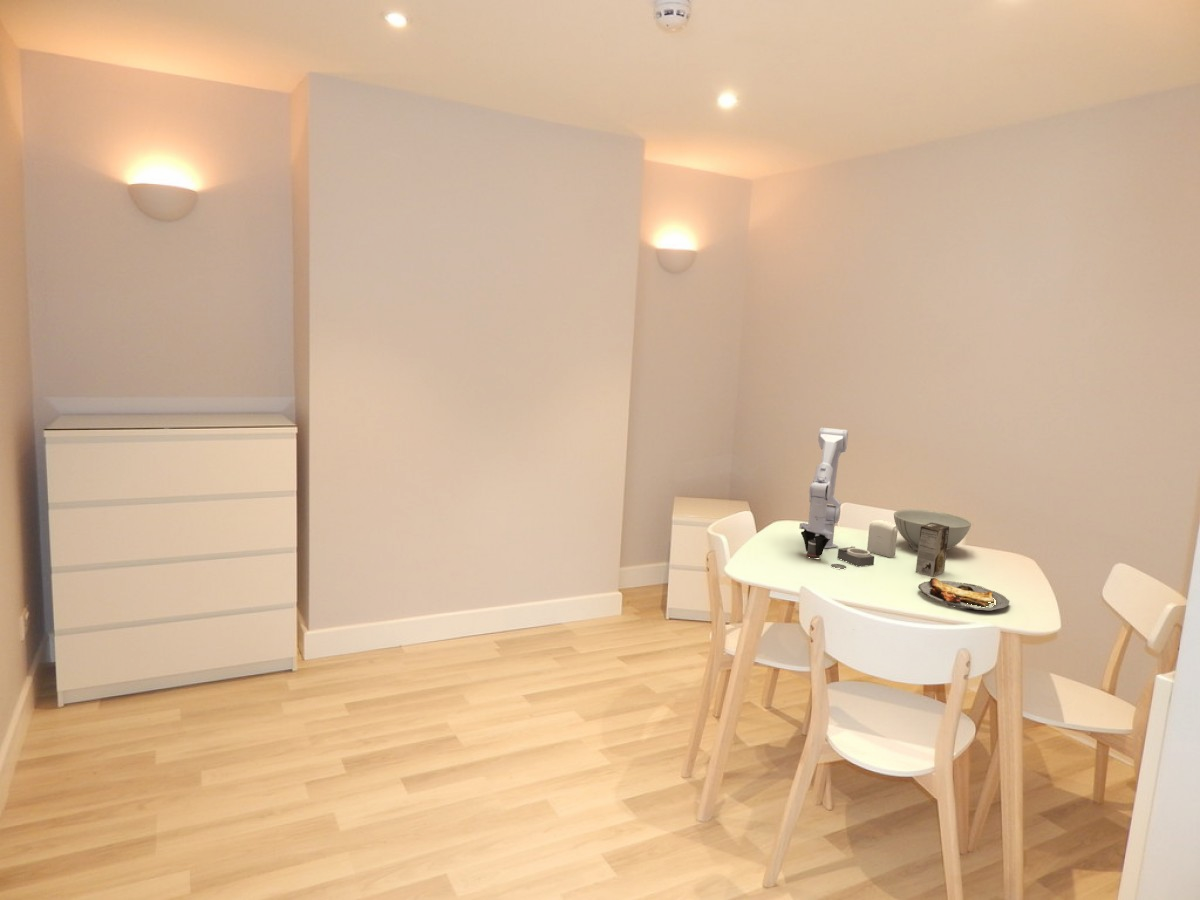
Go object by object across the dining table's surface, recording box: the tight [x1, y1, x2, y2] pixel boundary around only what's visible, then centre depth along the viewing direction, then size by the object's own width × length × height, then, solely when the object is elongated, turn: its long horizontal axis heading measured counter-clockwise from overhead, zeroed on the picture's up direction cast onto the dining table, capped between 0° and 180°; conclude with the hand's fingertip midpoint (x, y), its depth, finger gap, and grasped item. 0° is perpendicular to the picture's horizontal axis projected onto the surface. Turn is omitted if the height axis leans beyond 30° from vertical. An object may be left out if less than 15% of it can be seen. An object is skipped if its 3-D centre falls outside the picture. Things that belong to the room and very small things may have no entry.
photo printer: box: [866, 519, 899, 558], centre depth 280 cm, size 10×4×12 cm, turn 39°
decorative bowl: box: [893, 509, 972, 551], centre depth 291 cm, size 27×27×12 cm
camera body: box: [836, 545, 875, 567], centre depth 270 cm, size 10×8×4 cm
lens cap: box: [830, 563, 847, 570], centre depth 262 cm, size 5×5×1 cm
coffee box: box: [915, 523, 949, 578], centre depth 261 cm, size 9×6×16 cm
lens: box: [806, 539, 821, 559], centre depth 272 cm, size 4×4×6 cm
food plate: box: [917, 577, 1010, 612], centre depth 235 cm, size 25×23×4 cm
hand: (813, 553), depth 272 cm, fingers closed on lens, 4 cm apart
